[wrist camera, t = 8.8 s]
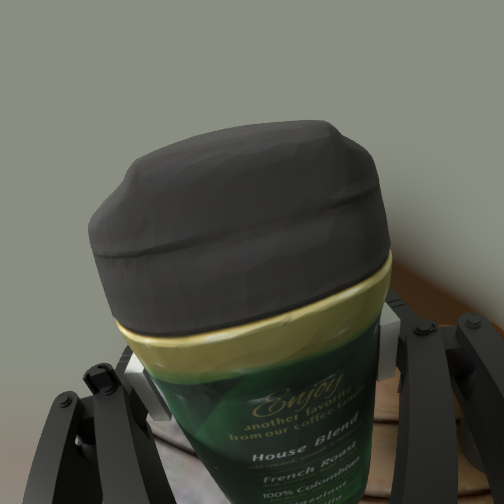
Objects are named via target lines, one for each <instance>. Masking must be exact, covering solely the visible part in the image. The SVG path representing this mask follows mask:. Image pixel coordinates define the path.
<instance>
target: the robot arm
mask: <svg viewBox="0 0 504 504" xmlns="http://www.w3.org/2000/svg"><path fill="white" fill-rule="evenodd" d="M396 366H397V367H398V369H399V370H400V372H401V375H400V381H399V387H398V393H400V397H399V423H398V438H397V450H396V460H395V468H394V476H393V483H392V490H391V496H390V502H389V504H457V496H458V451H457V434H456V422H455V412H454V403H453V395H452V389H453V391H454V393H455V395H456V398H457V400H458V402H459V404H460V407H461V409H462V411H463V412H462V415H461V419H460V424H459V438H460V443H461V446H462V449H463V451H464V453H465V455H466V457H467V458H468V460H469V461H470V462H471V464H472V465H473V466H474V467H476V468H477V469H478V470H480V471H481V472H483V473H485V474H486V476H487V479H488V483H489V486H490V489H491V493H492V497H493V500H494V504H504V340H503V339H502V337H501V336H500V335H499V333H498V332H497V331H496V330H495V328H494V327H493V326H492V325H491V323H490V322H489V321H488V320H487V318H485V317H484V316H483V315H481V314H478V313H473V312H470V313H465V314H463V315H461V316H460V317H459V319H458V324H457V326H449V327H439V326H438V324H437V323H435V322H434V321H431V320H429V319H420V318H419V316H417V314H416V313H415V312H414V311H413V310H412V309H411V308H410V307H409V306H408V305H407V304H406V303H405V302H404V301H403V300H402V299H401V298H400V296H399V295H398V294H397V293H396V292H393V291H391V290H389V289H388V292H387V296H386V300H385V303H384V305H383V309H382V313H381V317H380V324H379V332H378V344H377V361H376V380H377V382H378V381H381V380H384V379H387V378H390V377H393V376H395V371H396ZM83 380H84V381H85V383H86V384H87V386H88V388H89V389H90V390H91V392H92V393H93V396H89V397H86V398H82V399H80V398H79V397H78V395H77V394H76V393H75V392H73V391H67V392H63V393H62V394H60V395H58V396H57V397H56V398H55V400H54V402H53V404H52V406H51V409H50V412H49V414H48V417H47V420H46V423H45V426H44V429H43V431H42V434H41V437H40V440H39V443H38V446H37V450H36V453H35V456H34V460H33V463H32V467H31V470H30V474H29V478H28V481H27V485H26V490H25V494H24V498H23V503H22V504H102V500H103V497H104V502H105V504H177V503H176V501H175V498H174V496H173V493H172V490H171V488H170V485H169V482H168V480H167V477H166V474H165V471H164V469H163V466H162V463H161V460H160V457H159V454H158V451H157V447H156V444H155V441H154V438H153V434H152V431H151V427H150V425H149V424H148V422H147V421H146V418H147V414H148V413H149V414H150V416H151V417H152V419H153V420H154V421H165V420H171V417H172V413H171V411H170V409H169V407H168V406H167V404H166V402H165V401H164V399H163V397H162V396H161V394H160V392H159V391H158V389H157V387H156V386H155V384H154V382H153V381H152V379H151V378H150V376H149V374H148V373H147V371H146V370H145V368H144V367H143V365H142V364H141V362H140V361H139V359H138V358H137V357H136V355H135V354H134V352H133V351H132V350H131V348H130V347H129V345H128V346H127V347H126V348H125V350H124V352H123V354H122V356H121V358H120V360H119V362H118V364H117V367H116V369H115V371H114V369H113V367H112V366H111V365H110V364H108V363H101V364H97V365H95V366H93V367H91V368H90V369H89V370H87V372H86V373H85V375H84V377H83ZM451 387H452V388H451ZM76 438H77V439H78V444H77V445H76V444H75V439H76Z"/></svg>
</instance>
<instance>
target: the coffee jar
mask: <svg viewBox="0 0 504 504" xmlns="http://www.w3.org/2000/svg"><path fill="white" fill-rule="evenodd" d="M88 233H89V239H90V244H91V248H92V251H93V254H94V258H95V262H96V265H97V269H98V272H99V276H100V279H101V282H102V285H103V288H104V292H105V295H106V297H107V300H108V304H109V306H110V309H111V312H112V315H113V316H114V317H115V319H116V323H117V325H118V327H119V330H120V331H121V333H122V335H123V337H124V338H125V340H126V342H127V344H128V345H129V347H130V348H131V350H132V351H133V352H134V354H135V355H136V357H137V358H138V359H139V361H140V362H141V364H142V365H143V367H144V368H145V370H146V371H147V373H148V374H149V376H150V378H151V379H152V381H153V382H154V384H155V386H156V387H157V389H158V391H159V392H160V394H161V396H162V397H163V399H164V401H165V402H166V404H167V406H168V407H169V409H170V411H171V413H172V414H173V416H174V418H175V419H176V421H177V423H178V424H179V426H180V428H181V429H182V431H183V433H184V434H185V436H186V438H187V439H188V441H189V442H190V444H191V446H192V447H193V449H194V450H195V452H196V453H197V455H198V457H199V458H200V460H201V461H202V463H203V464H204V466H205V467H206V468H207V470H208V471H209V473H210V474H211V476H212V477H213V479H214V480H215V482H216V483H217V484H218V486H219V487H220V489H221V490H222V492H223V493H224V495H225V496H226V497H227V499H228V500H229V502H230V503H231V504H358V503H359V501H360V500H361V498H362V497H363V495H364V492H365V489H366V485H367V481H368V475H369V469H370V459H371V446H372V431H373V418H374V407H375V389H376V361H377V344H378V332H379V324H380V317H381V313H382V309H383V305H384V303H385V300H386V296H387V292H388V289H389V284H390V277H391V269H392V253H391V250H390V245H391V244H390V237H389V232H388V225H387V218H386V213H385V209H384V204H383V200H382V195H381V190H380V184H379V177H378V174H377V170H376V167H375V163H374V161H373V158H372V156H371V155H370V154H369V153H368V151H367V150H366V149H365V148H363V147H362V146H360V145H359V144H357V143H356V142H354V141H353V140H351V139H349V138H347V137H345V136H343V135H341V133H340V132H339V131H338V130H337V129H336V128H335V127H334V126H332V125H331V124H330V123H328V122H325V121H319V120H300V121H285V122H273V123H262V124H252V125H244V126H238V127H233V128H228V129H222V130H218V131H213V132H210V133H205V134H202V135H198V136H193V137H190V138H188V139H185V140H182V141H179V142H176V143H174V144H171V145H168V146H166V147H163V148H161V149H158V150H156V151H154V152H151V153H149V154H147V155H145V156H142V157H140V158H139V159H136V160H135V161H134V162H133V163H132V165H131V166H130V168H129V169H128V171H127V173H126V175H125V178H124V180H123V182H122V183H121V185H120V186H119V187H118V188H117V189H116V190H115V191H114V192H113V193H112V194H111V195H110V196H109V197H108V198H107V199H106V200H105V201H104V202H103V203H102V204H101V206H100V207H99V208H98V209H97V210H96V212H95V213H94V214H93V216H92V217H91V220H90V222H89V225H88Z"/></svg>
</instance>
